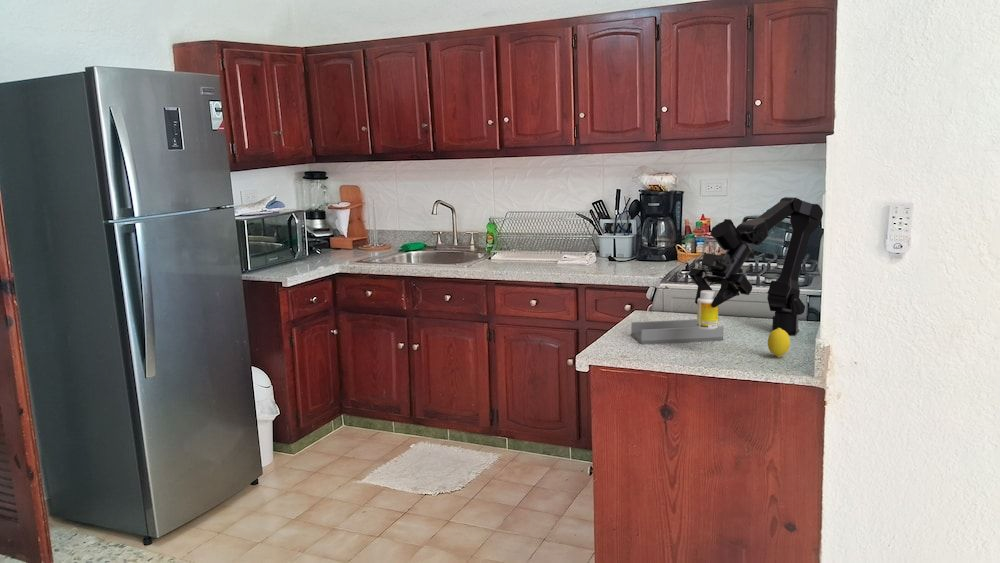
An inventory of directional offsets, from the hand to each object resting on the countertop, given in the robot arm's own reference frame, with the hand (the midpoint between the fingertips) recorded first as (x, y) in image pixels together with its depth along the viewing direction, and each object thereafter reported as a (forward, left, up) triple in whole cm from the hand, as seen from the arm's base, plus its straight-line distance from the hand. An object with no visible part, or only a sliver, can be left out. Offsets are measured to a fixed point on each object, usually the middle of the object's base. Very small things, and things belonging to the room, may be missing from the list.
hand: (704, 305), depth 214 cm
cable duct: (+11, -11, -13) cm, 20 cm away
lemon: (-20, -1, -13) cm, 24 cm away
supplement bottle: (-1, -1, -7) cm, 7 cm away
